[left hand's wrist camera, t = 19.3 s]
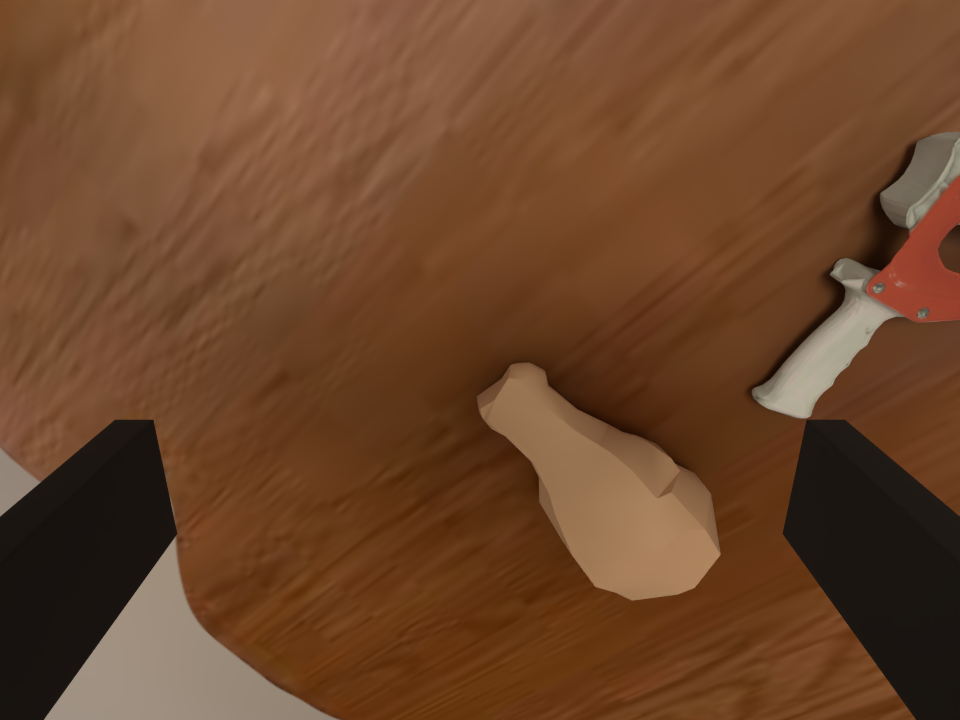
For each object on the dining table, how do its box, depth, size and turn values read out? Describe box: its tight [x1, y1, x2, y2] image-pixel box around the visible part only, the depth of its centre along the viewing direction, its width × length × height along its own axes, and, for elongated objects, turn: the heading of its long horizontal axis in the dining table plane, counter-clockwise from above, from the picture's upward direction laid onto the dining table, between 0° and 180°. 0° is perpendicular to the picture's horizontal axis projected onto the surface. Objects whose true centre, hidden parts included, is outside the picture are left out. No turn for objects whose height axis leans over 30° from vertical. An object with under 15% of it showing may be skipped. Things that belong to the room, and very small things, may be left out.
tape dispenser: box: [752, 132, 960, 418], centre depth 41 cm, size 18×5×20 cm
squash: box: [477, 362, 720, 600], centre depth 44 cm, size 11×20×9 cm, turn 48°
